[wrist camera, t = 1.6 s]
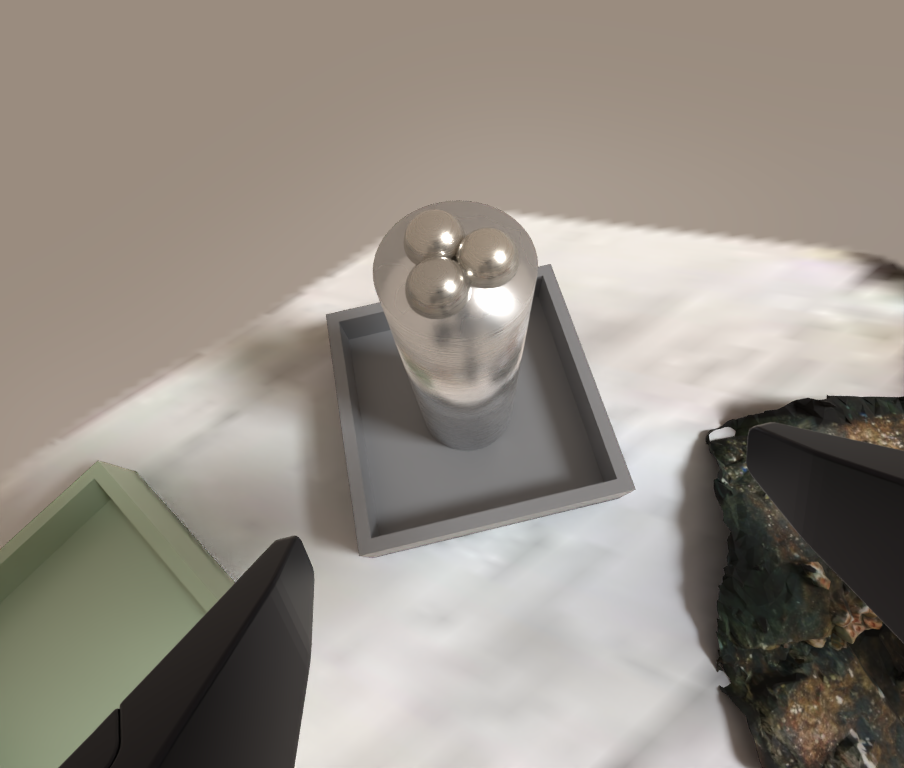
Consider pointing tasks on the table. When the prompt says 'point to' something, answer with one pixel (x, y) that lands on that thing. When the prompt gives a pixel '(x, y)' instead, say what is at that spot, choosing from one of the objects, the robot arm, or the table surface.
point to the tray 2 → (477, 471)
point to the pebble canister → (459, 314)
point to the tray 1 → (92, 610)
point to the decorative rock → (805, 613)
